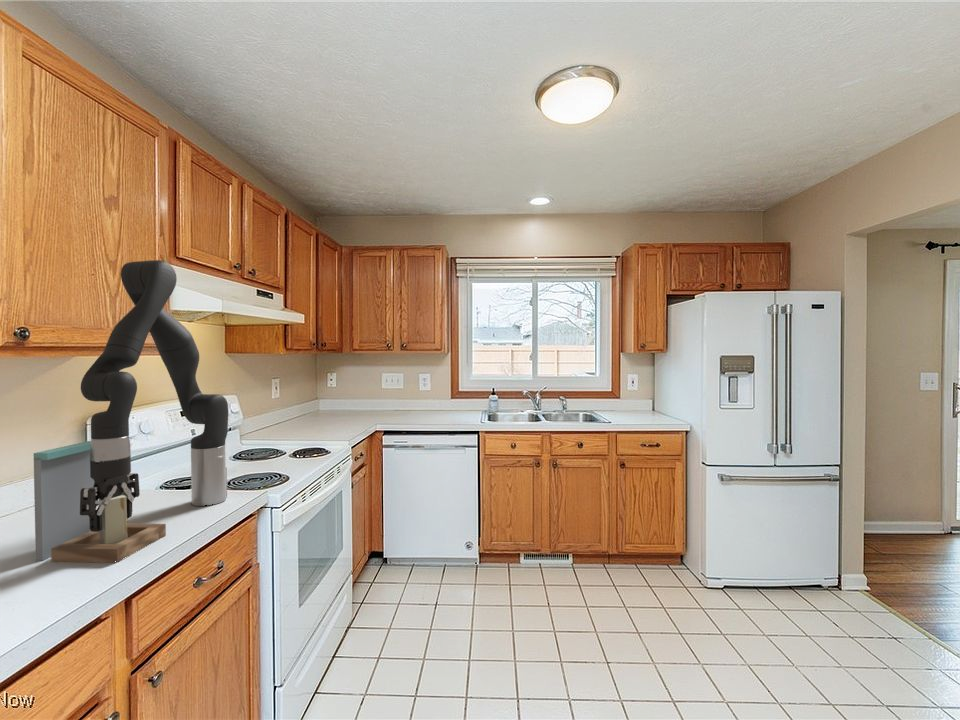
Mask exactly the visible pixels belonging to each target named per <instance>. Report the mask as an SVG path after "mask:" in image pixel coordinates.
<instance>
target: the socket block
mask: <svg viewBox="0 0 960 720" xmlns="http://www.w3.org/2000/svg"><path fill="white" fill-rule="evenodd" d="M166 525H167V524H166V523H127V539H125V540H123V541H121V542H119V543H117V544H100V531H99V532H92V531H89V532H87V533H85V534H83V535H80V536H78V537H76V538H74V539H71V540H69V541H67V542H65V543H62V544H60V545H58V546H55V547H53V548H51V557H50V558H51V563H115V561H116V562H118V561H119V562H121V561H123V560H124V559H123V558H125V557H127V556H128V557H130V556H132V555H133V553H134V552H136V551H137V552H139V551H141V550H143V549H144V548H146V547H148V546H149V544H150V545H151V543H152V544H153V543H155V542H157V541H159V540H161V539H162V538H164V537H166V536H165V535H167V529H166V527H167V526H166ZM160 538H161V539H160ZM158 539H159V540H158ZM156 540H157V541H156ZM147 545H148V546H147ZM145 546H146V547H145ZM142 548H143V549H142ZM140 549H141V550H140ZM138 550H139V551H138ZM137 552H136V553H137ZM131 554H132V555H131ZM134 554H135V553H134ZM129 555H130V556H129ZM128 557H127V558H128ZM122 559H123V560H122ZM125 559H126V558H125ZM120 560H121V561H120ZM119 562H118V563H119Z"/></svg>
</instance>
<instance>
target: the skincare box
mask: <svg viewBox="0 0 960 720" xmlns="http://www.w3.org/2000/svg"><path fill="white" fill-rule="evenodd" d="M98 501H102V500H100V499H98ZM101 515H102V524H103V529H102V530H101V531H100V544H117V543H119V542H121V541H123V540H125V539H127V524H128V518H127V505H126V496H125V495H123V494H122V495H120V496H117V497H114V498H111V499H110V501H109V503H108V505H107V506H105V507H104V509H103V511H102V513H101Z"/></svg>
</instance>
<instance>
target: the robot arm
mask: <svg viewBox="0 0 960 720" xmlns="http://www.w3.org/2000/svg"><path fill="white" fill-rule="evenodd" d="M120 279H121V282H122V286H123V287H124V290H125V291H126V293H127V295H128V296H129V298H130V300H131V301H132V304H134V307H132V309H131V310H129V311H128V312H127V313H126V314H125V315H124V316H123V317H122V318H121V319H120V320H119V321H118V322H117V323H116V325H115V326H114V328H112V331H111V333H110V335H109V337H108V339H107V342H106V344H105V347H104V349H103V352H101V354H100V355H99V356H98V357H97V359H96V360H95V361H94V362H93V364H92V365H91V366H90V367H89V368H88V370H87V371H86V372H85V374H84V375H83V376H82V379H81V382H80V392H81V394H82V397H84V399H86V400H88V401H91V402H109V405H108V407H107V409H106V410H104V411H100V412H97V413H94V414H93V415H92V416H91V418H90V441H91V444H90V477H91V478H92V479H93V480H94V486H93V487H91V488H82V489H81V492H80V515H88V516H89V524H90V530H91V531H92V532H99V531H101V530H102V529H103V524H102V515H101V513H102V511H103V509H104V507H105V506H107V505H108V503H109V501H110V499H111V498H114V497H117V496H120V495H122V494H123V495H125V496H126V505H127V519H129V518H131V517H132V515H133V502H134V501H135V499H136V498H138V497H140V482H139V481H140V480H139V474H138V473H135V472H134V473H131V472H132V461H131V460H132V457H131V455H132V452H131V450H132V449H131V448H132V447H131V441H130V422H129V421H130V420H129V419H130V415H131V412H132V409H133V405H134V402H135V398H136V395H137V391H138V383H137V380H136V378H135V377H134V376H133V374H131V373H130V372H127V371H123V370H124V369H128V368H131V367H134V366H135V365H136V364H137V363H138V361H139V359H140V357H141V353H142V351H143V347H144V346H145V343H146V340H147V338H148V335H149V333H150V335H151V337H152V340H153V343H154V344H155V347H156V350H157V352H158V354H159V356H160V358H161V360H162V362H163V363H164V366H165V368H166V370H167V372H168V375H169V377H170V379H171V381H172V384H173V387H174V389H175V392H176V394H177V398H178V402H179V406H180V408H181V411H182V413H183V415H184V417H185V419H186V420H187V422H189V423H191V424H195V425H203V432H202V433H201V434H198V435H196V436H193V437H191V440H190V471H191V473H190V474H191V475H190V477H191V479H190V480H191V489H190V490H191V505H192V506H195V507H206V506H205V505H207V506H213V505H216V504H220V503H222V502H225V501H226V499H227V497H228V476H227V475H228V473H227V467H226V465H227V464H226V439H227V435H228V432H229V431H228V430H229V429H228V426H229V403H228V401H227V399H226V397H224V396H223V395H222V394H204V393H203V392H202V391H201V390H200V387H199V384H198V382H197V379H196V378H197V376H196V375H197V370H198V367H199V364H200V363H199V362H200V352H199V349H198V346H197V344H196V342H195V339H194V337H193V334H192V333H191V332H190V331H189V330H188V328H186V327H185V325H183V324H182V323H181V322H180V321H179V320H177V319H176V318H175V317H174V316H172V315H171V314H170V313H169V312H168V310H166V308H165V305H166V303H167V302H168V301H169V299H170V297H171V296H172V294H173V292H174V290H175V288H176V285H177V279H178V278H177V273H176V271H175V269H174V267H173V266H172V265H171V264H170V263H169V262H167V261H165V260H161V259H157V260H156V259H154V260H153V259H152V260H140V261H139V260H138V261H131V262H130V261H129V262H126V263H125V264H123V266H122V267H121V270H120ZM99 499H100V500H102V501H99ZM212 504H213V505H212ZM87 505H88V506H89V509H88V510H87ZM95 509H96V510H95Z"/></svg>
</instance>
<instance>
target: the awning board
mask: <svg viewBox="0 0 960 720" xmlns="http://www.w3.org/2000/svg"><path fill="white" fill-rule="evenodd" d="M90 444H91V440H87V441H83V442H78V443H74V444H73V443H72V444H70V445H65V446H61V447H60V446H59V447H56V448H51V449H46V450H41V451H37V452H33V487H34V488H33V491H34V493H33V494H34V495H33V496H34V528H35V529H34V532H35V533H34V534H35V535H34V536H35V538H34V539H35V561H36V562H37V561H38V562H42V561H45V560H49V559H50V558H51V548H53V547H55V546H58V545H60V544H62V543H65V542H67V541H69V540H71V539H74V538H76V537H78V536H80V535H83V534H85V533H87V532H89V531H91V530H90V524H89V516H88V515H80V492H81V489H82V488H91V487H93V486H94V480H93V479H92V478H91V477H90ZM88 509H89V506H88V505H87V510H88ZM95 510H97V508H96V509H95Z"/></svg>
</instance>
